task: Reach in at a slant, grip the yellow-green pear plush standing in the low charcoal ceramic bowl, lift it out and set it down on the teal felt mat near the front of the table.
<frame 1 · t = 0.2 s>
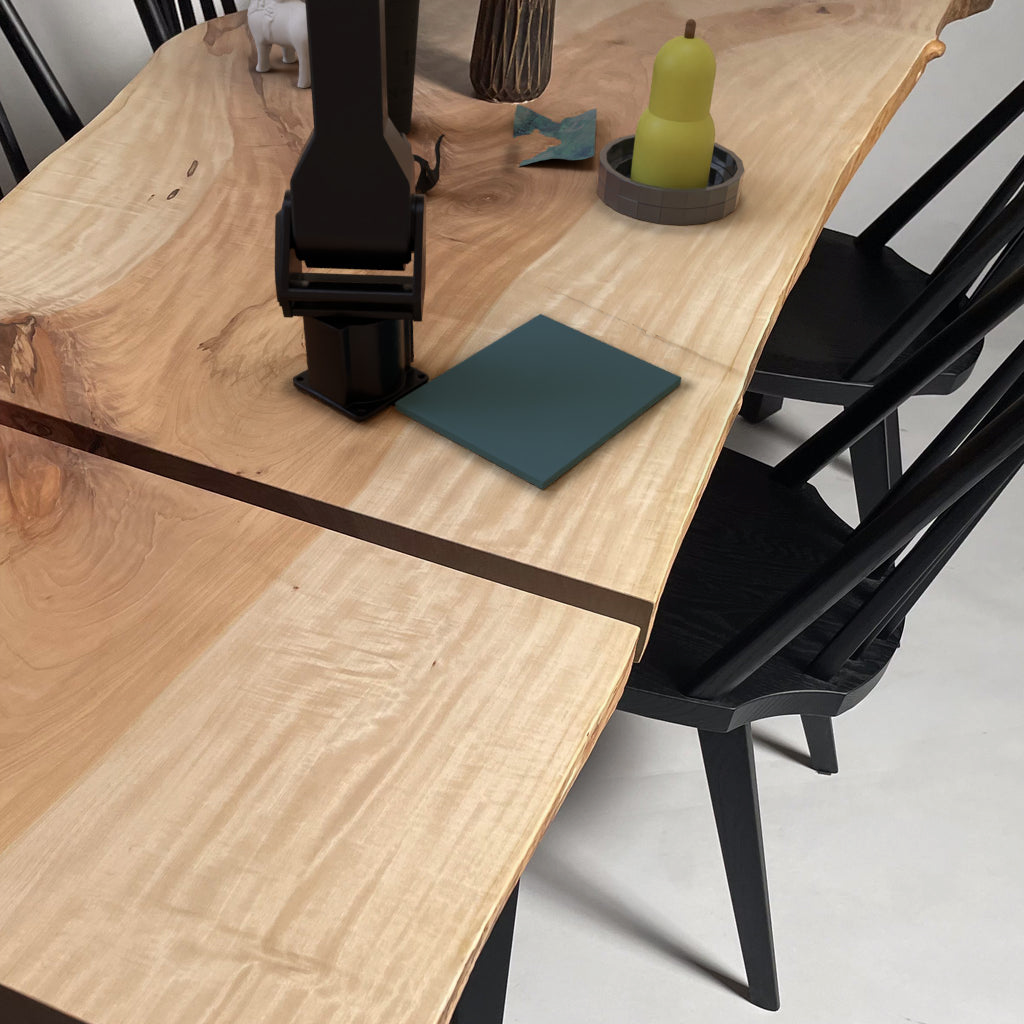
creature: (395, 199, 94), on the table
mat: (541, 396, 72), on the table
teal flat jagged piece: (552, 149, 103), on the table
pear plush: (667, 192, 95), point 1 cm above the table, touching bowl
bowl: (666, 199, 95), on the table
drinking cup: (385, 130, 105), on the table
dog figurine: (288, 72, 115), on the table
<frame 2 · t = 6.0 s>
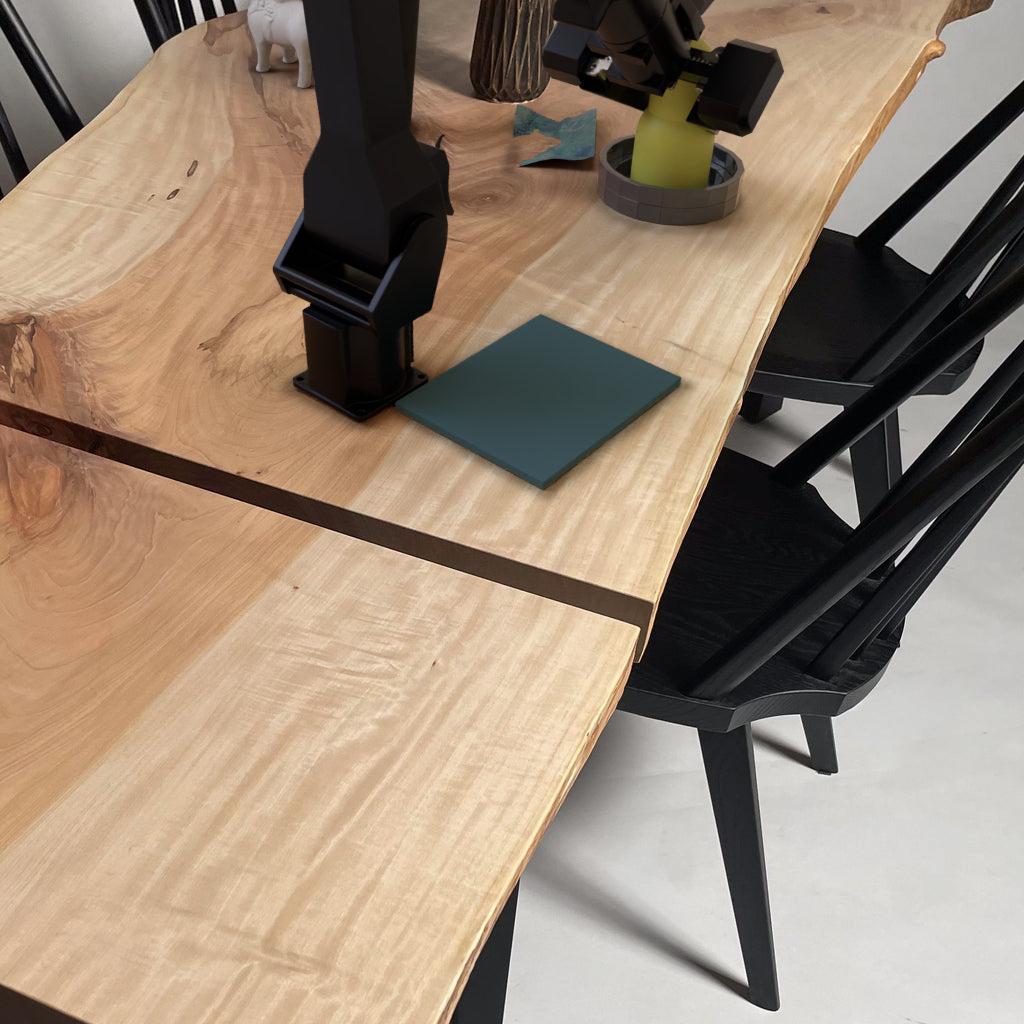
hand: (685, 118, 92), 7 cm above the table, tool tilted 45°, fingers closed on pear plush, 6 cm apart
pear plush: (666, 192, 95), point 1 cm above the table, touching bowl, gripper
everything else where it was.
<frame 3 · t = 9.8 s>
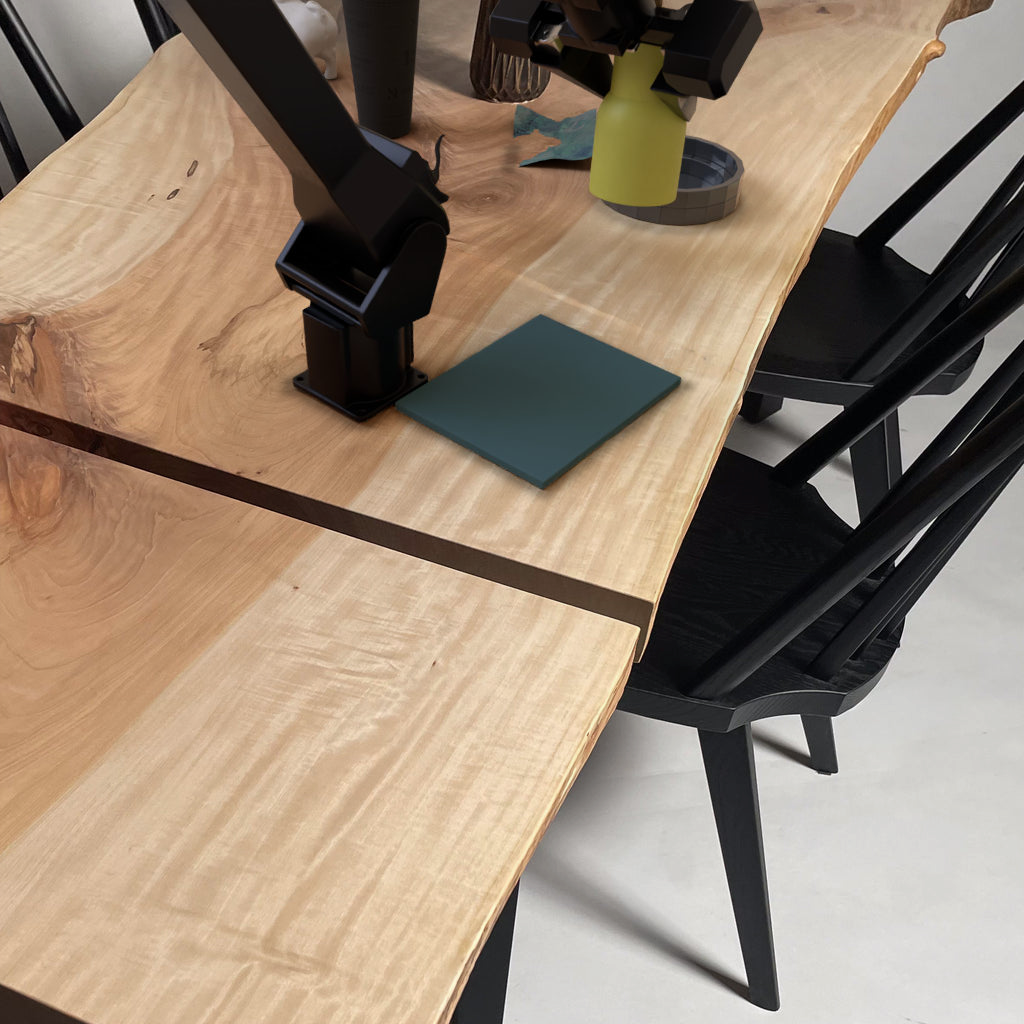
hand: (653, 107, 81), 11 cm above the table, tool tilted 40°, fingers closed on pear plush, 6 cm apart
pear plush: (632, 193, 83), point 6 cm above the table, tilted 8°, touching gripper
everything else where it was.
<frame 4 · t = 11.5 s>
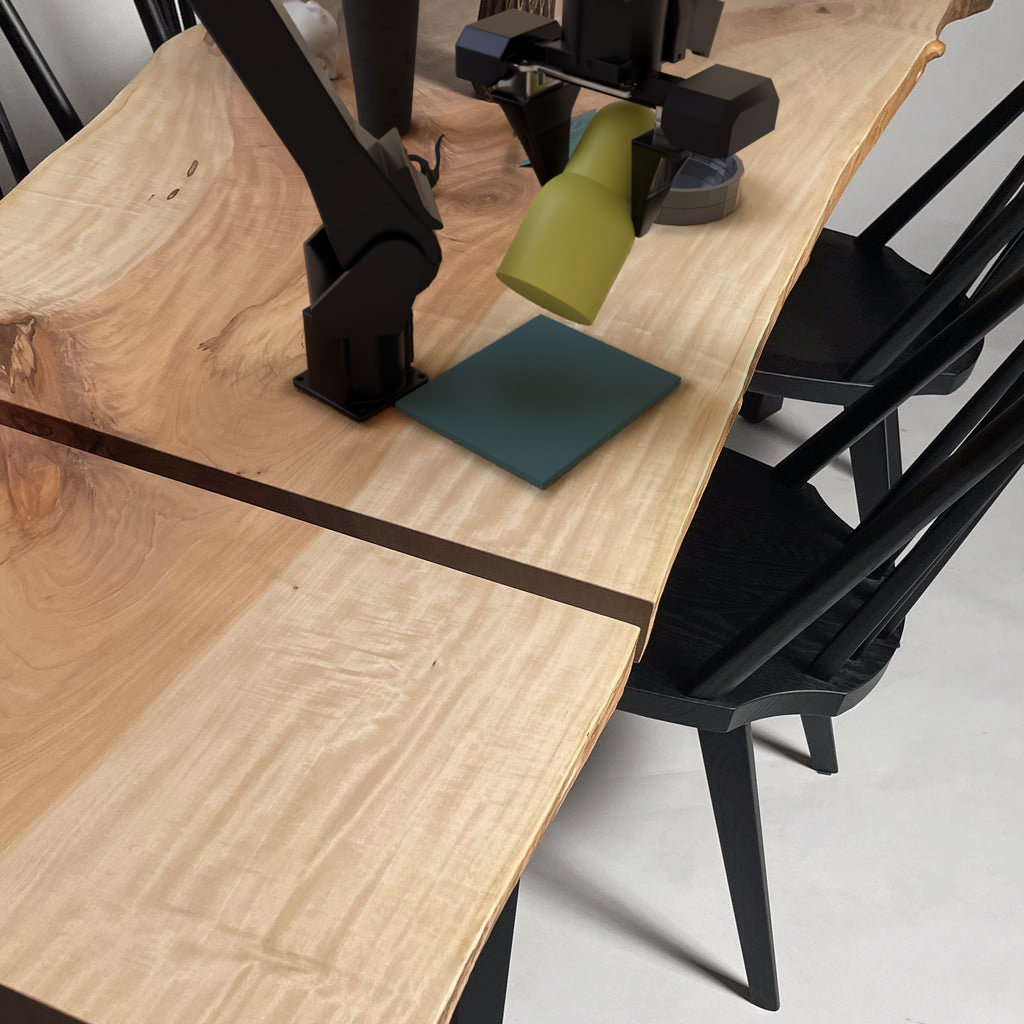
hand: (598, 219, 68), 11 cm above the table, tool pointing down, fingers closed on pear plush, 6 cm apart
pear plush: (543, 300, 67), point 7 cm above the table, tilted 44°, touching gripper
everything else where it was.
when the fingers open (6 cm above the table, at t = 13.7 s): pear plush moves 4 cm and tips over, resting on mat.
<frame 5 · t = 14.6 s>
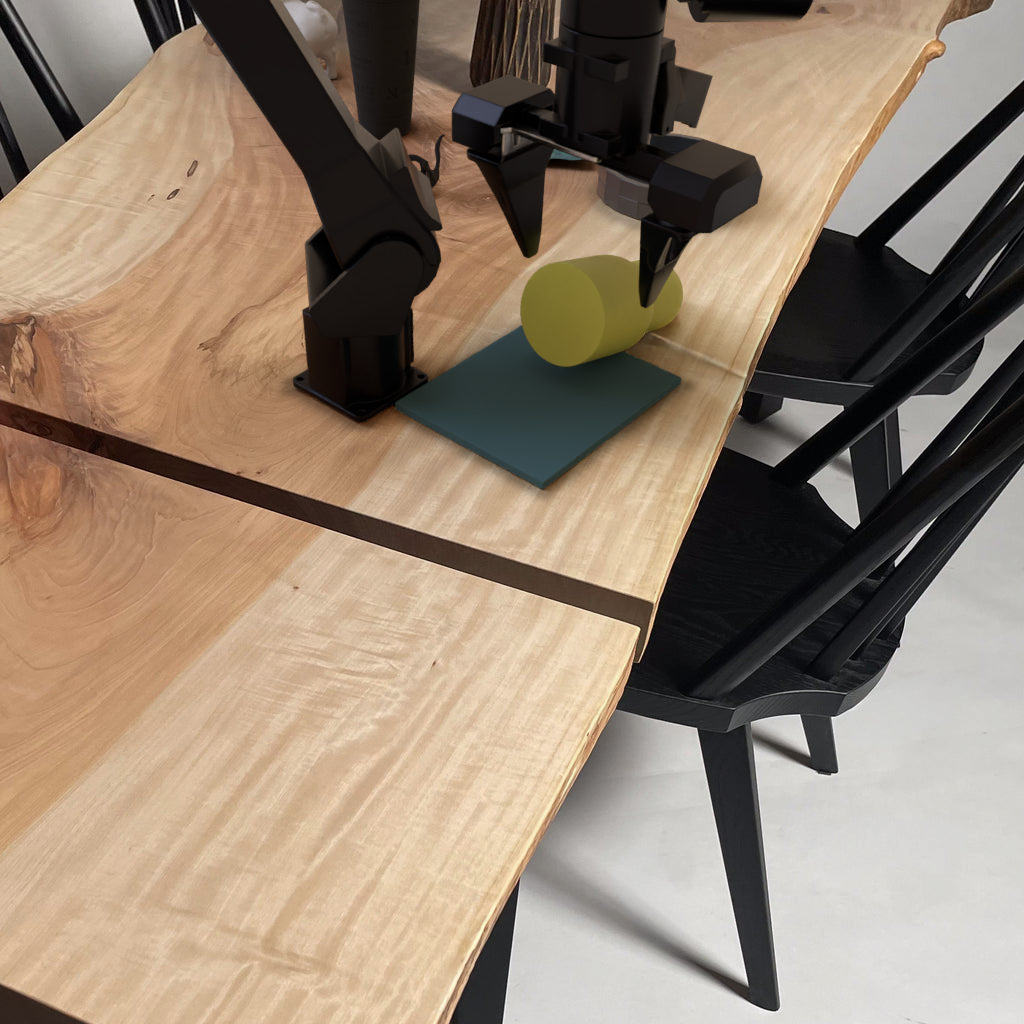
hand: (587, 279, 70), 7 cm above the table, tool pointing down, fingers open, 9 cm apart
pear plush: (560, 315, 70), point 5 cm above the table, tilted 105°, touching mat
everything else where it was.
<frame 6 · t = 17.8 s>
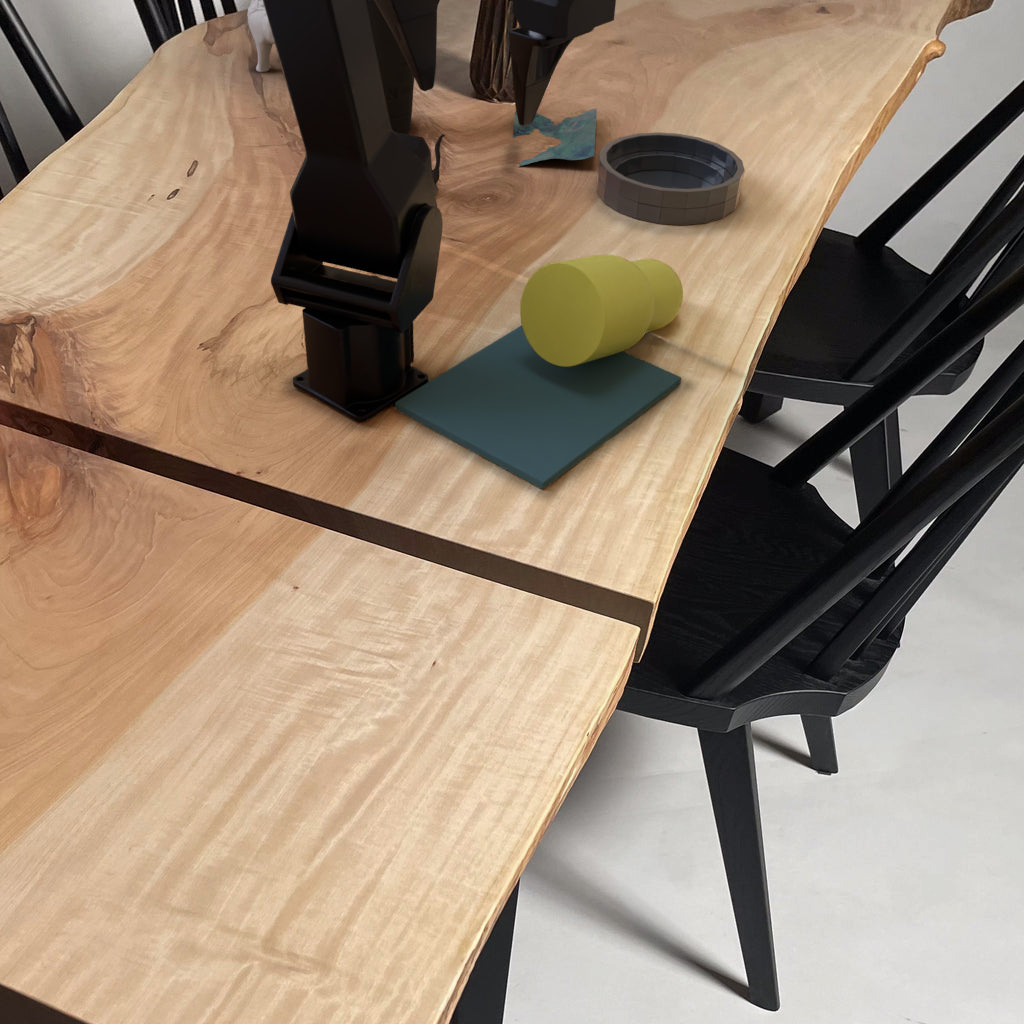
hand: (475, 106, 78), 12 cm above the table, tool pointing down, fingers open, 9 cm apart
nothing on the table moved.
at the end: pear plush inside the target area on the mat (1.9 cm from its centre), point 5.2 cm above the mat's base; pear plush touching mat, table; the gripper is holding nothing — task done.
